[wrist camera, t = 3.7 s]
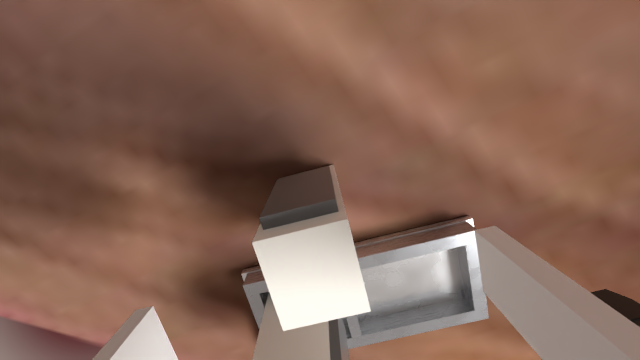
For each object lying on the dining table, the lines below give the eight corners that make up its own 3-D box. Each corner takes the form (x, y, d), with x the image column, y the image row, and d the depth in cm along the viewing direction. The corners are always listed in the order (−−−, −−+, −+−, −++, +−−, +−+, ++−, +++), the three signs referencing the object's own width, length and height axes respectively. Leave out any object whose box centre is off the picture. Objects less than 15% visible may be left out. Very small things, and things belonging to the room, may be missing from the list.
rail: (271, 345, 26) (266, 367, 24) (242, 269, 24) (235, 286, 22) (479, 298, 25) (495, 317, 23) (468, 215, 23) (484, 227, 21)
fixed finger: (270, 283, 24) (240, 408, 14) (332, 269, 24) (343, 386, 14) (284, 323, 25) (265, 464, 15) (343, 310, 25) (361, 445, 15)
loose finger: (297, 232, 23) (283, 331, 13) (278, 170, 22) (247, 229, 12) (347, 220, 23) (371, 311, 13) (331, 156, 21) (344, 205, 12)
